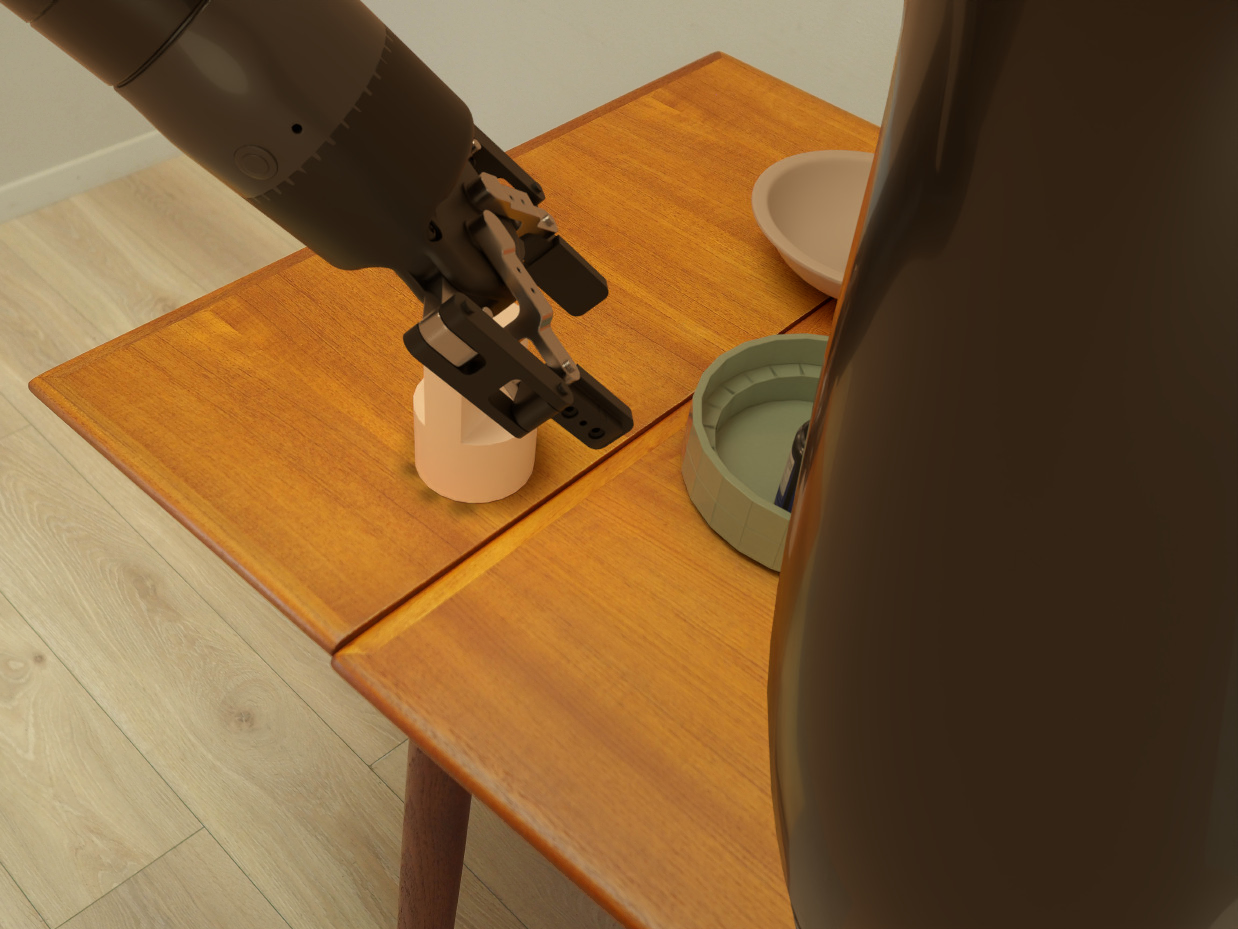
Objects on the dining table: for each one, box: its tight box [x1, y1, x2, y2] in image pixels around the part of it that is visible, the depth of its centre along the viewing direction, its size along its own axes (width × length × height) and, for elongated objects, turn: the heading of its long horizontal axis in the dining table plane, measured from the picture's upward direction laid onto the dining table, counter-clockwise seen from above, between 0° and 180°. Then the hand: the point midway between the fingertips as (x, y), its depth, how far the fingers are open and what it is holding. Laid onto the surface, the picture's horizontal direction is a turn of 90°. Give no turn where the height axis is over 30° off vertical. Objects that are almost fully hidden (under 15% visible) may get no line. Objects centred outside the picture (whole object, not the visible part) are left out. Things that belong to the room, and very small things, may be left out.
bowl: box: [680, 332, 829, 573], centre depth 80 cm, size 21×21×6 cm
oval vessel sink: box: [750, 149, 875, 300], centre depth 100 cm, size 24×24×7 cm
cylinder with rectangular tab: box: [412, 302, 538, 504], centre depth 75 cm, size 9×9×12 cm
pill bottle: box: [774, 420, 810, 513], centre depth 75 cm, size 6×6×11 cm
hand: (604, 363), depth 45 cm, fingers open, 8 cm apart
